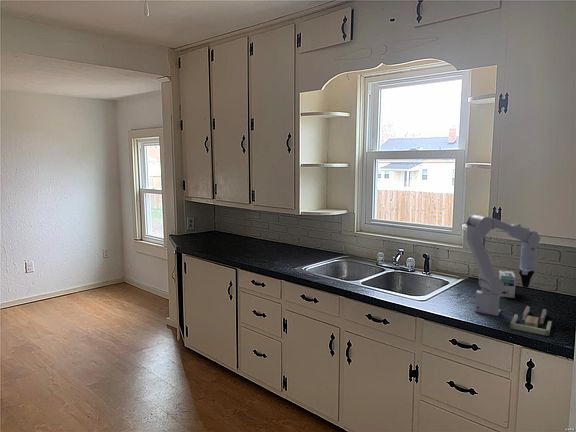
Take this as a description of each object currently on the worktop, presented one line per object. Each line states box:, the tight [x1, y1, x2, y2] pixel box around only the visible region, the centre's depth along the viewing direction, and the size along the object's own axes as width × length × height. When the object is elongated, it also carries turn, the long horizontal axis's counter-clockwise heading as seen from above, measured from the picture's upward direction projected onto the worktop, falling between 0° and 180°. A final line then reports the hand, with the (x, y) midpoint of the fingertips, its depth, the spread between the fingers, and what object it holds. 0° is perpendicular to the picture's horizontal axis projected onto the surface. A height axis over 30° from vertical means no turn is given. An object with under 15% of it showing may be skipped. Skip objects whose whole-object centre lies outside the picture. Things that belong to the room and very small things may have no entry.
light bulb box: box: [498, 270, 517, 299], centre depth 212 cm, size 11×7×11 cm, turn 158°
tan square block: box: [527, 315, 540, 327], centre depth 176 cm, size 4×4×3 cm
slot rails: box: [521, 305, 547, 325], centre depth 183 cm, size 8×12×2 cm, turn 145°
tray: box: [509, 314, 553, 337], centre depth 173 cm, size 13×12×2 cm
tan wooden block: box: [524, 318, 538, 328], centre depth 172 cm, size 4×4×3 cm
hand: (525, 286), depth 191 cm, fingers closed
